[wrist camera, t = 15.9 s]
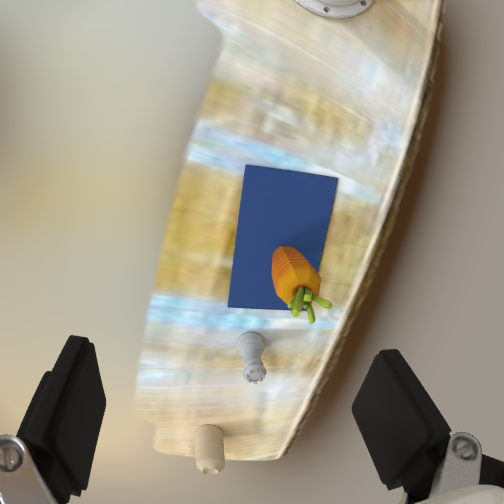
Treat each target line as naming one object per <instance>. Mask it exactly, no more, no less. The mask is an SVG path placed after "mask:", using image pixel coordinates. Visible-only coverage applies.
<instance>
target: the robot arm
mask: <svg viewBox="0 0 504 504" xmlns="http://www.w3.org/2000/svg"><path fill="white" fill-rule="evenodd" d="M296 1H297V2H298V3H299V4H300V5H301V6H303V7H305V8H306V9H308V10H309V11H312V12H314V13H316V14H318V15H322V16H325V17H330V18H348V17H353V16H355V15H357V14H359V13H361V12H363V11H364V10H365V9H367V8H368V7H369V5H370V4H371V2H372V0H296ZM361 4H362V5H361ZM324 10H326V11H327V12H325V11H324ZM105 408H106V397H105V393H104V389H103V385H102V381H101V376H100V372H99V367H98V362H97V357H96V352H95V347H94V344H93V343H90V342H89V339H88V338H86V337H80V336H74V335H71V336H69V338H68V340H67V342H66V344H65V346H64V347H63V349H62V351H61V354H60V355H59V358H58V359H57V361H56V363H55V365H54V368H53V369H52V371H47V372H45V374H44V375H43V377H42V379H41V381H40V383H39V386H38V388H37V390H36V392H35V394H34V396H33V398H32V400H31V403H30V405H29V407H28V409H27V411H26V414H25V416H24V418H23V421H22V423H21V425H20V428H19V430H18V432H17V435H16V436H13V435H8V434H4V435H0V504H67V503H68V502H69V500H70V495H75V496H79V497H80V495H81V491H82V490H86V489H87V486H88V481H89V477H90V472H91V467H92V462H93V458H94V453H95V449H96V445H97V440H98V436H99V432H100V428H101V424H102V420H103V416H104V412H105ZM352 413H353V416H354V418H355V420H356V423H357V425H358V427H359V430H360V432H361V434H362V436H363V439H364V441H365V444H366V446H367V448H368V451H369V453H370V456H371V458H372V460H373V463H374V465H375V467H376V470H377V472H378V475H379V477H380V480H381V482H382V483H383V484H386V486H387V488H388V490H392V489H395V488H399V487H401V486H403V488H404V493H403V496H402V498H401V501H400V504H504V462H502V461H499V460H497V459H494V458H492V457H489V456H486V455H484V454H482V448H481V445H480V443H479V441H478V440H477V439H476V438H475V437H474V436H473V435H471V434H469V433H465V432H458V433H455V434H453V436H452V437H451V436H450V435H449V433H450V432H451V431H452V430H451V429H450V427H449V426H448V424H447V422H446V421H445V419H444V418H443V416H442V415H441V413H440V411H439V410H438V408H437V407H436V405H435V404H434V402H433V401H432V399H431V398H430V396H429V395H428V393H427V392H426V390H425V389H424V387H423V386H422V384H421V383H420V381H419V380H418V378H417V377H416V375H415V374H414V372H413V371H412V369H411V368H410V366H409V365H408V363H407V362H406V361H405V359H404V358H403V356H402V355H401V353H400V352H399V351H398V350H397V349H390V350H381V351H380V352H379V354H377V355H376V356H375V358H374V360H373V362H372V365H371V367H370V369H369V371H368V373H367V375H366V378H365V380H364V382H363V384H362V386H361V388H360V390H359V392H358V394H357V396H356V398H355V401H354V402H353V404H352Z"/></svg>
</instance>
